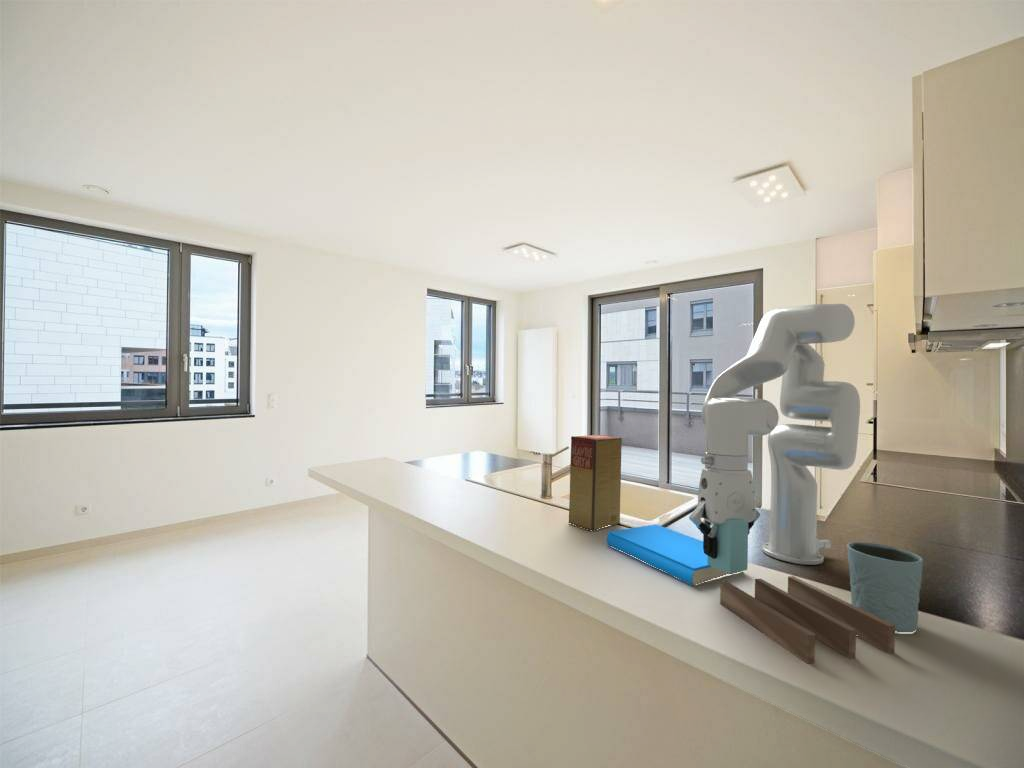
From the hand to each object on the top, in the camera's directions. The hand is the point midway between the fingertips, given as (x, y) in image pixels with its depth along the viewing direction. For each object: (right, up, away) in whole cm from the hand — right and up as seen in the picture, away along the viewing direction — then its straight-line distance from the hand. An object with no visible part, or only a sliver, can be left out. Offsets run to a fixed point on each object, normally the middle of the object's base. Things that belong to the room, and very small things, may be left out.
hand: (724, 553), depth 87 cm
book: (-5, -8, +15) cm, 18 cm away
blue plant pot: (+22, -8, -11) cm, 26 cm away
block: (0, -2, -1) cm, 2 cm away
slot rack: (+6, -7, -13) cm, 16 cm away
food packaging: (-18, -7, +40) cm, 45 cm away
